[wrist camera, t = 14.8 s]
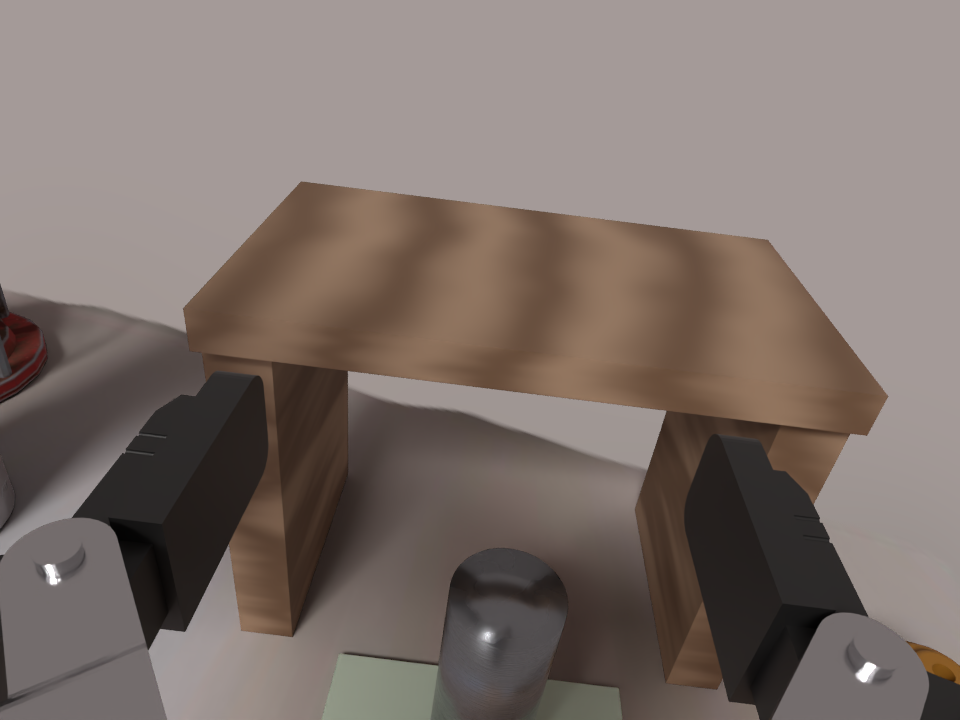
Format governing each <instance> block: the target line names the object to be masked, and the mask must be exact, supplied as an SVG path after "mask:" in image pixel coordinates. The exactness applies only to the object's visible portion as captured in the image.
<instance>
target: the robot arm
mask: <svg viewBox="0 0 960 720" xmlns="http://www.w3.org/2000/svg"><path fill="white" fill-rule="evenodd" d="M268 447H269V443H268V430H267V418H266V407H265V395H264V385H263V381H262V378H261V377H260V376H258V375H250V374H242V373H234V372H226V371H215V372H214V373H213V374H212V375H211V376H210V377H209V379H208V380H207V382H206V383H205V384H204V386H203V387H202V388H201V390H200V391H199V393H198V394H197V395H196V396H188V395H180V396H179V397H177V398H176V399H174V400H172V401H171V402H169V403H168V404H166V405H165V406H163V407H161V408H160V409H158V410H157V411H155V413H154V414H153V415H152V416H151V418H150V419H149V420H148V421H147V423H146V424H145V425H144V427H143V428H142V429H141V430H140V432H139V436H136V437H135V438H134V439H133V441H132V442H131V443H130V444H129V446H128V447H127V448H126V452H125V454H124V453H122V455H121V456H120V457H119V458H118V460H117V461H116V462H115V463H114V465H113V466H112V467H111V469H110V470H109V471H108V472H107V474H106V475H105V476H104V477H103V479H102V480H101V481H100V482H99V484H98V485H97V486H96V488H95V489H94V490H93V491H92V493H91V494H90V495H89V496H88V498H87V499H86V500H85V502H84V503H83V504H82V505H81V507H80V508H79V509H78V510H77V512H76V513H75V514H74V516H73V517H72V518H70V519H63V520H59V521H55V522H52V523H49V524H46V525H43V526H41V527H39V528H37V529H35V530H33V531H31V532H30V533H28V534H26V535H25V536H23V537H22V538H21V539H19V540H18V541H17V542H16V543H15V544H13V545H12V546H11V547H10V548H9V550H8V551H7V552H6V553H5V555H0V720H167V718H166V715H165V711H164V707H163V704H162V700H161V696H160V693H159V689H158V685H157V682H156V678H155V674H154V671H153V667H152V663H151V660H150V656H149V652H148V650H149V648H150V646H151V645H152V643H153V641H154V639H155V637H156V635H157V633H158V632H159V630H160V629H166V630H174V631H182V632H185V631H186V629H187V627H188V625H189V623H190V621H191V619H192V617H193V615H194V613H195V611H196V609H197V607H198V605H199V603H200V601H201V599H202V597H203V595H204V593H205V591H206V589H207V587H208V585H209V583H210V581H211V579H212V577H213V575H214V573H215V571H216V569H217V567H218V565H219V563H220V561H221V559H222V557H223V555H224V552H225V550H226V548H227V546H228V544H229V542H230V540H231V538H232V536H233V534H234V532H235V530H236V528H237V526H238V524H239V522H240V520H241V518H242V516H243V514H244V512H245V510H246V508H247V506H248V504H249V502H250V500H251V498H252V496H253V494H254V492H255V490H256V488H257V486H258V484H259V482H260V480H261V478H262V476H263V473H264V470H265V467H266V462H267V457H268ZM14 503H15V494H14V491H13V487H12V485H11V482H10V479H9V476H8V474H7V471H6V468H5V466H4V463H3V460H2V457H1V455H0V528H1V527H2V526H3V525H4V523H5V522H6V521H7V519H8V518H9V517H10V514H11V512H12V510H13V507H14ZM819 519H820V517H819V515H818V513H817V511H816V509H815V507H814V505H813V503H812V501H811V499H810V497H809V495H808V493H807V492H806V491H805V490H804V489H803V488H802V487H801V486H800V485H799V484H798V483H797V482H796V481H795V480H794V479H793V478H792V477H791V476H790V475H789V474H788V473H787V472H786V471H779V470H773V468H772V466H771V464H770V461H769V459H768V457H767V455H766V452H765V450H764V448H763V446H762V444H761V442H760V441H759V440H757V439H753V438H745V437H737V436H729V435H721V434H713V435H712V436H711V437H710V438H709V440H708V442H707V444H706V447H705V449H704V452H703V455H702V457H701V460H700V462H699V465H698V468H697V470H696V473H695V476H694V478H693V481H692V484H691V486H690V489H689V492H688V494H687V498H686V502H685V508H684V527H685V532H686V536H687V540H688V544H689V548H690V552H691V556H692V560H693V564H694V567H695V571H696V575H697V579H698V583H699V587H700V591H701V595H702V599H703V603H704V606H705V610H706V614H707V618H708V622H709V626H710V630H711V634H712V638H713V642H714V646H715V649H716V653H717V657H718V661H719V665H720V669H721V673H722V677H723V681H724V685H725V688H726V692H727V696H728V700H729V702H737V703H745V704H753V705H756V708H757V712H758V715H759V719H760V720H960V684H957V683H955V682H952V681H949V680H947V679H944V678H942V677H939V676H937V675H935V674H932V673H930V672H928V671H926V669H925V667H924V665H923V663H922V661H921V660H920V658H919V657H918V655H917V654H916V652H915V651H914V650H913V649H912V648H911V646H910V645H909V644H908V643H907V642H906V641H905V640H904V639H903V638H901V637H900V636H899V635H898V634H896V633H895V632H894V631H893V630H891V629H889V628H888V627H886V626H885V625H883V624H881V623H879V622H877V621H876V620H873V619H871V618H869V617H868V615H867V613H866V611H865V609H864V607H863V605H862V603H861V601H860V599H859V597H858V595H857V592H856V590H855V588H854V586H853V584H852V582H851V580H850V578H849V576H848V574H847V572H846V570H845V568H844V566H843V564H842V562H841V560H840V558H839V556H838V554H837V552H836V550H835V548H834V546H833V544H832V543H830V542H829V539H830V538H829V536H828V534H827V532H826V530H825V527H824V525H823V523H820V522H819Z"/></svg>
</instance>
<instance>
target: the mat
mask: <svg viewBox="0 0 960 720" xmlns="http://www.w3.org/2000/svg"><path fill="white" fill-rule="evenodd" d="M437 671H438V666H435V665H427V664H419V663H411V662H403V661H395V660H387V659H379V658H371V657H363V656H355V655H346V654H339V656H338V660H337V664H336V667H335V671H334V675H333V679H332V682H331V686H330V690H329V693H328V697H327V701H326V705H325V708H324V712H323V716H322V720H430V719H431V712H432V706H433V699H434V692H435V685H436V678H437ZM535 720H622V711H621V703H620V694H619V688H613V687H605V686H597V685H589V684H581V683H573V682H564V681H556V680H548V679H547V682H546V686H545V689H544V692H543V696H542V699H541V702H540V705H539V709H538V712H537V715H536V719H535Z"/></svg>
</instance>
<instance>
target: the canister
mask: <svg viewBox="0 0 960 720" xmlns="http://www.w3.org/2000/svg"><path fill="white" fill-rule="evenodd" d="M567 612H568V598H567V594H566V590H565V588H564V585H563V583H562V582H561V580H560V578H559V577H558V576H557V574H556V573H555V572H554V571H553V570H552V569H551V568H550V567H549V566H548V565H547V564H546V563H544V562H543V561H542V560H540V559H538V558H537V557H535V556H533V555H531V554H528V553H526V552H523V551H519V550H515V549H508V548H495V549H488V550H484V551H481V552H478V553H476V554H474V555H472V556H470V557H469V558H467V559H466V560H465V561H464V562H463V563H462V564H460V566H459V567H458V568H457V570H456V571H455V573H454V575H453V577H452V580H451V584H450V590H449V596H448V603H447V610H446V617H445V624H444V631H443V637H442V644H441V651H440V658H439V665H438V671H437V678H436V685H435V692H434V699H433V706H432V712H431V719H430V720H535V719H536V715H537V712H538V709H539V705H540V702H541V699H542V696H543V692H544V689H545V686H546V682H547V679H548V676H549V673H550V669H551V666H552V663H553V659H554V656H555V653H556V650H557V646H558V643H559V640H560V637H561V633H562V630H563V627H564V623H565V620H566V617H567Z"/></svg>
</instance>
